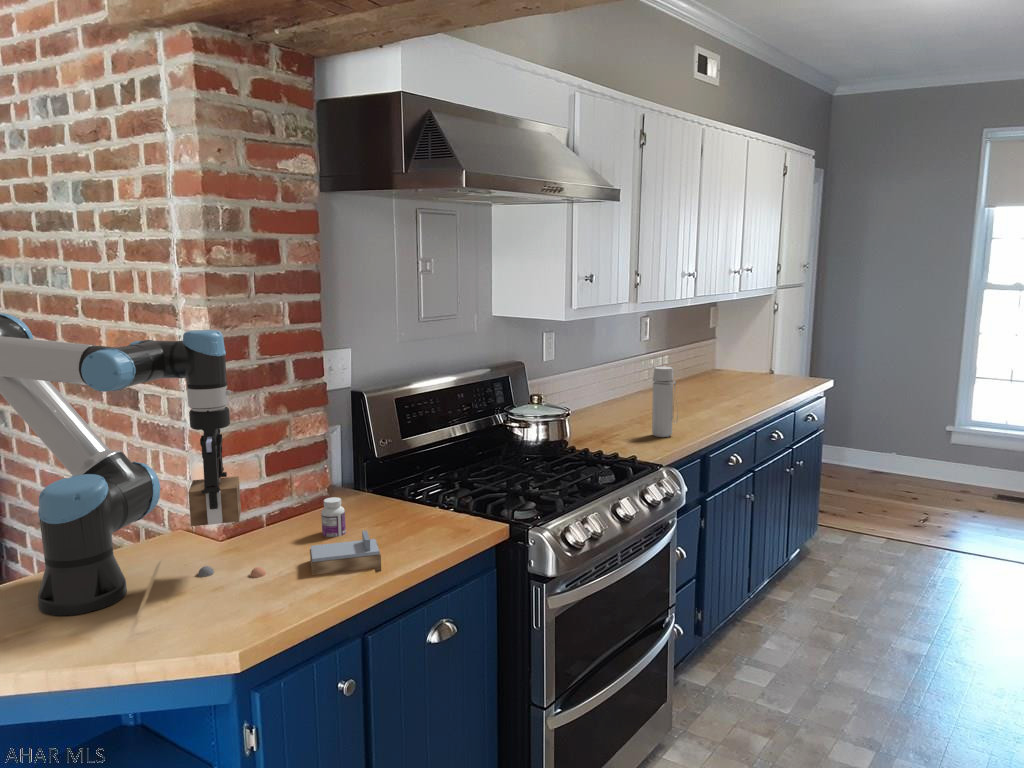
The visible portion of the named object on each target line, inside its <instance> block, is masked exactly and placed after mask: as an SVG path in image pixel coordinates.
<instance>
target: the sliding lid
mask: <svg viewBox="0 0 1024 768" xmlns="http://www.w3.org/2000/svg"><path fill="white" fill-rule="evenodd" d="M361 537H362V539H361V540H352V541H351V540H350V541H343V542H334V543H333V542H332V543H324V544H316V545H310V549H311V554H312V562H318V561H327V560H336V559H344V558H353V557H362V556H371V555H379V554H381V552H380V548H379V546H378V543H377V540H376V538H371V539H370V536H369V533H368V530H362V531H361Z"/></svg>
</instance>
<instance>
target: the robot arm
mask: <svg viewBox="0 0 1024 768" xmlns="http://www.w3.org/2000/svg"><path fill="white" fill-rule="evenodd" d="M226 354H227V352H226V348H225V341H224V335H223V333H222V332H221V331H220V330H216V329H196V330H195V329H194V330H188V331H184V333H183V335H182V340H152V339H146V340H135V341H132V342H130V343H129V345H125V346H107V345H106V346H105V345H94V344H85V343H75V342H63V341H56V340H42V339H34V336H33V333H32V331H31V329H30V328H29V327H28V325H27V324H26V323H25V322H23V320H21V319H20V318H19V317H17V316H14V315H12V314H9V313H3V312H1V313H0V395H1V396H2V397H3V399H4V400H5V401H6V402H7V403H8V404H9V405H10V406H11V408H12V409H13V410H14V411H15V413H17V414H18V416H20V418H21V419H22V420H23V421H24V422H25V423H26V424H27V426H28V427H29V428H30V429H31V430H32V431H33V433H35V435H36V436H37V437H38V439H40V441H42V443H43V444H44V445H45V446H46V447H47V448H48V449H49V450H50V451H51V453H52V454H53V455H54V456H55V457H56V459H57V460H58V461H59V462H60V463H61V464H62V465H63V467H64V468H65V469H66V470H67V471H68V472H69V473H70V474H71V476H70V477H68V478H66V477H65V478H62V479H58V480H56V481H54V482H52V483H50V484H48V485H47V486H45V487H44V488H43V489H42V490H41V492H40V493H39V496H38V510H37V512H38V514H37V515H38V517H39V525H40V532H41V540H42V549H43V556H44V559H43V560H44V572H43V574H42V579H41V583H40V587H39V591H38V594H37V602H38V609H39V611H40V612H41V613H44V614H46V615H51V616H74V615H80V614H87V613H91V612H95V611H97V610H101V609H105V608H107V607H109V606H111V605H114V604H115V603H118V602H119V601H120V600H122V599H123V598H124V597H125V596H126V594H127V592H128V588H127V581H126V577H125V576H124V574H123V572H122V570H121V567H120V565H119V563H118V561H117V559H116V558H115V555H114V547H113V546H114V545H113V537H112V534H113V533H115V532H118V531H119V530H121V529H123V528H125V527H127V526H129V525H131V524H132V523H136V522H137V521H138V522H139V521H140V520H142V519H143V518H145V516H148V514H150V513H151V512H152V511H153V510H154V509H155V508H156V506H157V505H158V503H159V501H160V497H161V494H160V493H161V483H160V479H159V477H158V475H157V474H156V471H155V470H154V469H153V468H152V467H151V466H149V465H148V464H146V463H144V462H138V461H131V460H130V459H129V458H128V457H127V455H126V454H125V453H124V452H123V451H122V450H115V449H111V448H109V447H108V446H107V445H106V443H105V442H104V441H103V440H102V439H101V438H100V437H99V436H98V434H97V433H96V432H95V431H94V430H93V428H91V426H90V425H89V424H88V423H87V422H86V421H85V420H84V419H83V417H82V416H81V415H80V414H79V413H78V412H77V411H76V409H75V408H74V407H73V406H72V405H71V403H70V402H69V401H68V400H67V399H66V398H65V396H63V394H62V393H61V392H60V391H59V389H57V388H56V387H55V385H54V384H53V383H52V382H54V383H65V384H73V385H85V386H88V387H90V388H91V389H93V390H94V391H97V392H101V393H103V392H117V391H121V390H123V389H125V388H129V387H132V386H135V385H140V384H144V383H149V382H152V381H156V380H161V379H185V381H186V393H187V394H186V395H187V396H186V397H187V406H188V407H189V408H190V410H189V411H188V416H189V426H190V428H191V429H193V430H195V431H200V430H201V431H202V432H203V435H200V439H199V444H200V447H201V457H202V458H201V459H202V465H203V466H202V467H203V468H202V469H203V479H204V487H205V488H204V490H201V491H202V494H205V493H206V505H207V518H208V525H207V526H209V525H218V524H219V525H220V524H224V523H223V519H222V506H221V492H220V491H219V490H220V488H219V478H225V477H228V473H227V471H224V470H225V469H224V468H225V467H224V465H223V434H222V433H221V429H224V428H225V429H226V428H227V427H228V426H229V425H230V424H231V419H230V418H231V417H230V415H231V414H230V408H229V407H228V406H227V405H229V395H231V394H232V391H231V390H230V389H228V380H227V364H226ZM209 485H215V486H209Z"/></svg>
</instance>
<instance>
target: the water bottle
mask: <svg viewBox="0 0 1024 768" xmlns="http://www.w3.org/2000/svg"><path fill="white" fill-rule="evenodd" d="M676 383H677V381H674V368H673V367H670V366H656V367H654V368H653V376H652V411H651V412H652V414H651V415H652V416H651V417H652V421H651V422H652V423H651V424H652V425H651V433H652V436H654V437H657V438H668V437H671V436H672V435H673V423H674V424H677V423H678V421H679V418H678V417H679V414H678V413H679V411H678V410H676V415H677V417H676V421H675V420H674V419H673V415H674V414H675V413H674V411H675V408H674V407H675V406H678V404H677V403H678V402H677V400H675V402H674V395H677V394H676V393H677V392H676Z"/></svg>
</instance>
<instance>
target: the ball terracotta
mask: <svg viewBox="0 0 1024 768" xmlns="http://www.w3.org/2000/svg"><path fill="white" fill-rule="evenodd" d="M266 574H267V572H266V569H264V568H263V567H261V566H256V567H254V568H253V569H252V570H251V571H250V577H251V578H262V577H264V576H266Z"/></svg>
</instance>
